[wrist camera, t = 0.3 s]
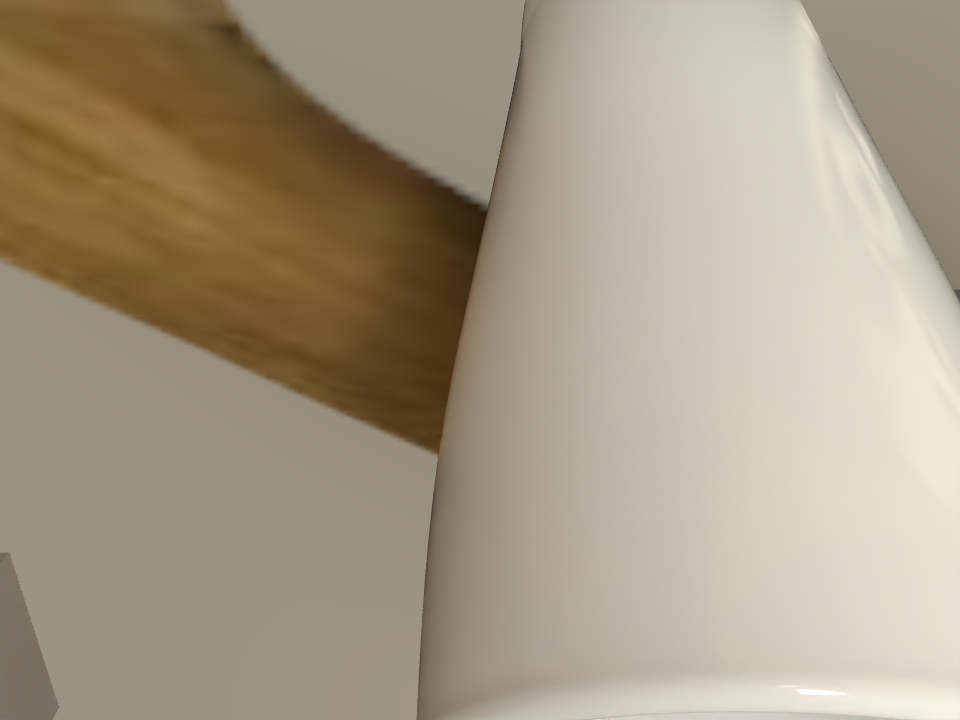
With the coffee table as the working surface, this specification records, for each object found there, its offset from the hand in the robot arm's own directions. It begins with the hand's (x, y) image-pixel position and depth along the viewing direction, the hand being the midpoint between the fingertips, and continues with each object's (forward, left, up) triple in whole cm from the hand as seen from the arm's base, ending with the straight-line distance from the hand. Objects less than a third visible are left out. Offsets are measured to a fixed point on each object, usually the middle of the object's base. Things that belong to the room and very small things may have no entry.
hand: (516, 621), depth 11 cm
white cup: (-2, +2, -13) cm, 13 cm away
